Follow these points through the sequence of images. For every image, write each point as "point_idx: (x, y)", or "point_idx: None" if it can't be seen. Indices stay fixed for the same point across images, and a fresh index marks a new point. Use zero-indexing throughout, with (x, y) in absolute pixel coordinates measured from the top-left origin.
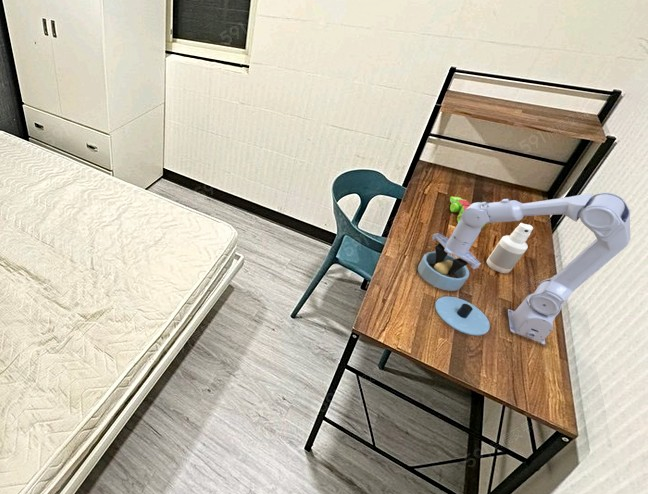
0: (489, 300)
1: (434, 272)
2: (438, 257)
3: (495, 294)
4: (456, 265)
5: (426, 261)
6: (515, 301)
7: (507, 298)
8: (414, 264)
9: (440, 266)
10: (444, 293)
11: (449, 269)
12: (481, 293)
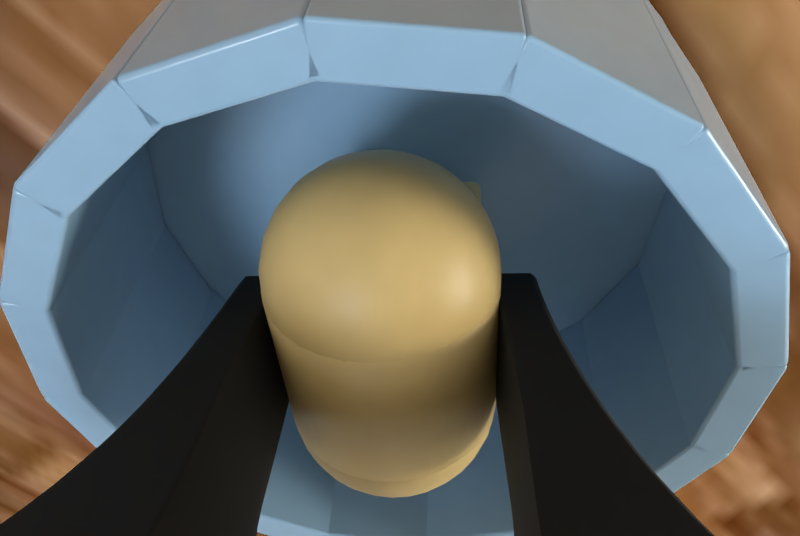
0: (12, 372)
1: (255, 25)
2: (538, 412)
3: None
4: (36, 534)
5: (625, 141)
6: (23, 499)
7: (52, 482)
8: (757, 61)
9: (359, 276)
10: (92, 5)
11: (277, 355)
12: None
